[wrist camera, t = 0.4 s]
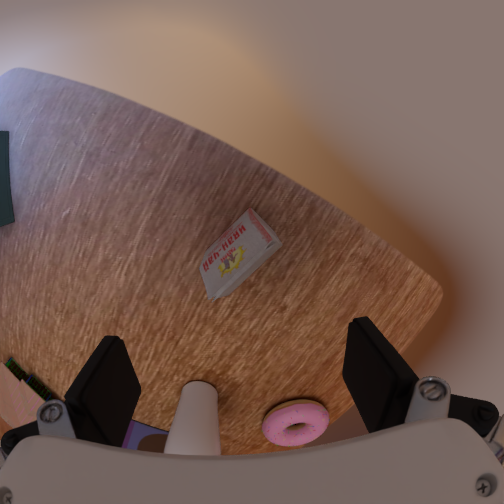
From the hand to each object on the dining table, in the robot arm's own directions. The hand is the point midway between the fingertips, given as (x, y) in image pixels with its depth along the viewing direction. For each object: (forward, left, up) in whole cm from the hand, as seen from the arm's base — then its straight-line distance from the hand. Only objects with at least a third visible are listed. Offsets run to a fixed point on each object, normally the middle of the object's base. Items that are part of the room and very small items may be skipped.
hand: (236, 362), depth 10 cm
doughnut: (+30, +6, -21) cm, 37 cm away
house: (+35, -52, -21) cm, 66 cm away
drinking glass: (+22, -8, -21) cm, 31 cm away
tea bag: (0, 0, -21) cm, 21 cm away
